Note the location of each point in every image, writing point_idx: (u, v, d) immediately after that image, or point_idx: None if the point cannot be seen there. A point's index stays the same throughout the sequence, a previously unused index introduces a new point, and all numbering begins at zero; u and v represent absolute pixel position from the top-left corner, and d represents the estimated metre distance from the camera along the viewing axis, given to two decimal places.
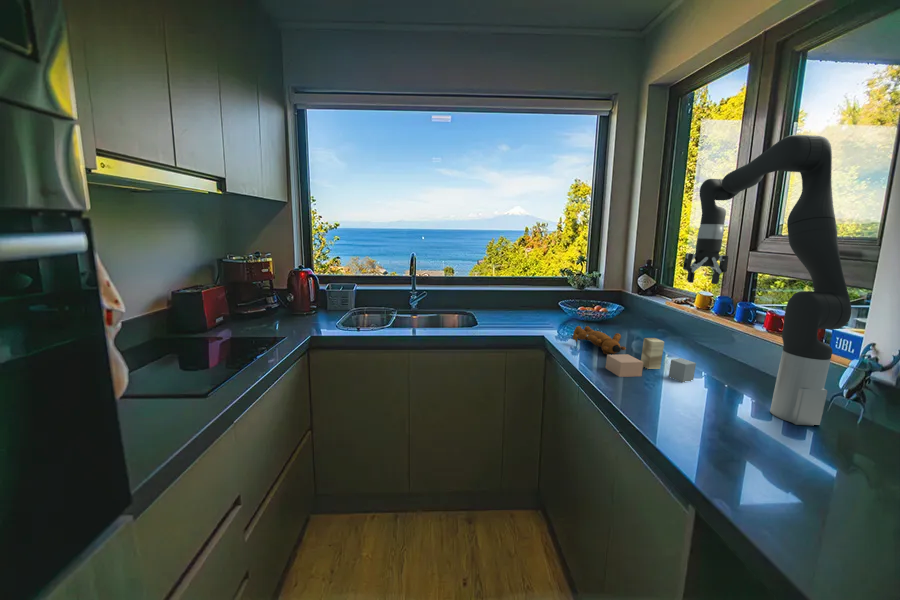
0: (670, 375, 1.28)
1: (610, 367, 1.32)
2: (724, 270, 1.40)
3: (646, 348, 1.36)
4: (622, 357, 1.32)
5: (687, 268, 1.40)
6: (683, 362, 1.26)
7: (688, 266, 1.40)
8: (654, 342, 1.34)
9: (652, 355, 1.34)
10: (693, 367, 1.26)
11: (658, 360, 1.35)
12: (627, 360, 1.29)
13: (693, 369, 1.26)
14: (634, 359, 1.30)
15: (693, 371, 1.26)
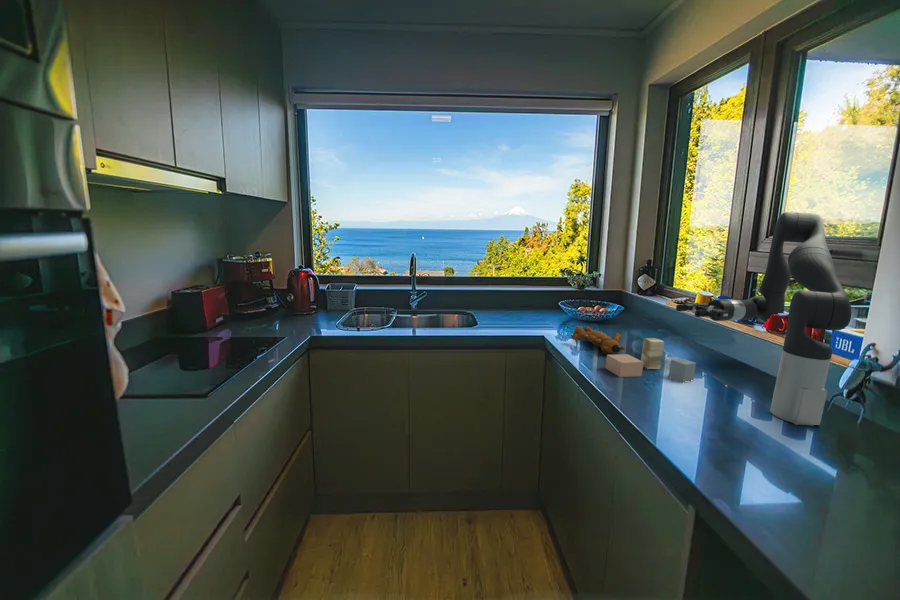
0: (670, 375, 1.28)
1: (610, 367, 1.32)
2: (714, 311, 1.31)
3: (646, 348, 1.36)
4: (622, 357, 1.32)
5: None
6: (683, 362, 1.26)
7: (686, 303, 1.43)
8: (654, 342, 1.34)
9: (652, 355, 1.34)
10: (693, 367, 1.26)
11: (658, 360, 1.35)
12: (628, 360, 1.29)
13: (693, 369, 1.26)
14: (634, 359, 1.30)
15: (693, 371, 1.26)
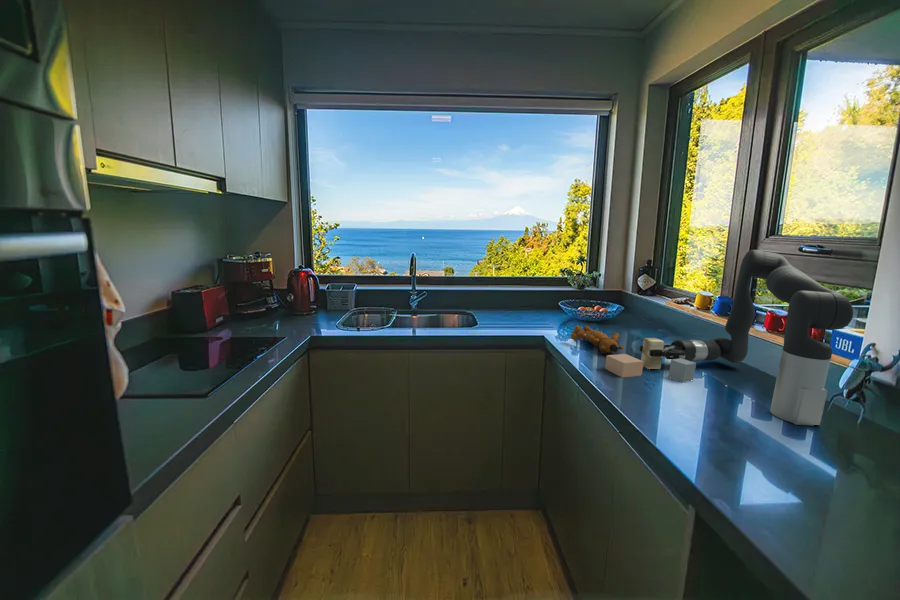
0: (670, 375, 1.28)
1: (611, 368, 1.31)
2: (668, 351, 1.32)
3: (646, 348, 1.36)
4: (622, 357, 1.32)
5: None
6: (683, 362, 1.26)
7: None
8: (654, 342, 1.34)
9: None
10: (693, 367, 1.26)
11: (658, 360, 1.35)
12: (628, 360, 1.29)
13: (693, 369, 1.26)
14: (634, 359, 1.31)
15: (693, 371, 1.26)
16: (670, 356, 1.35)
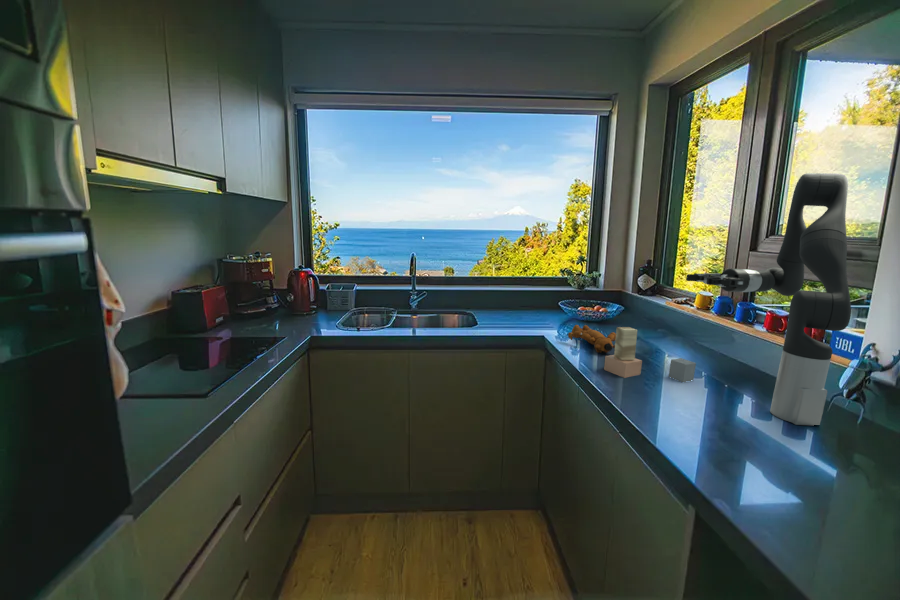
0: (670, 375, 1.28)
1: (611, 369, 1.31)
2: (728, 278, 1.21)
3: (619, 338, 1.30)
4: None
5: None
6: (683, 362, 1.26)
7: (697, 273, 1.34)
8: (626, 331, 1.27)
9: (625, 344, 1.28)
10: (693, 367, 1.26)
11: (631, 350, 1.28)
12: (628, 360, 1.29)
13: (693, 369, 1.26)
14: None
15: (693, 371, 1.26)
16: (724, 285, 1.25)
